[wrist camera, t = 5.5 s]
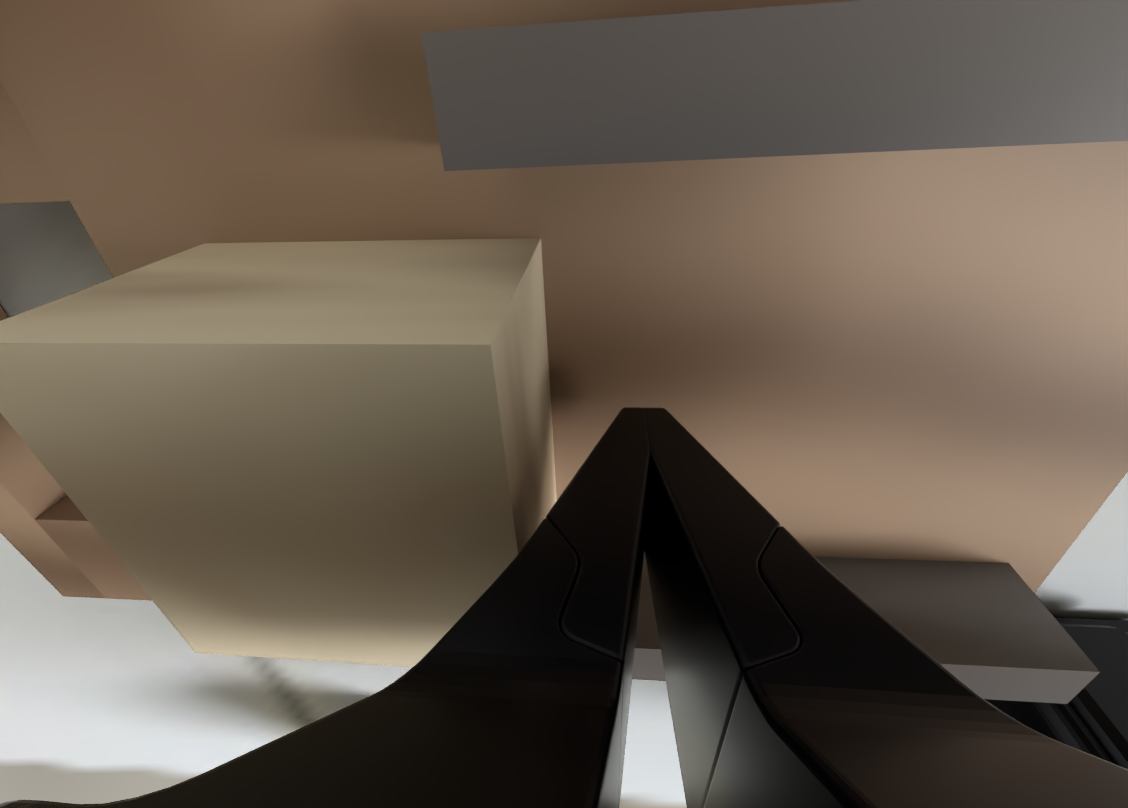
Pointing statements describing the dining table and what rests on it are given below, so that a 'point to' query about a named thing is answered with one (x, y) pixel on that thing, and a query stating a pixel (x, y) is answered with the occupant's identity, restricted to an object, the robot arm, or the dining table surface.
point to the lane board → (673, 246)
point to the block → (300, 434)
